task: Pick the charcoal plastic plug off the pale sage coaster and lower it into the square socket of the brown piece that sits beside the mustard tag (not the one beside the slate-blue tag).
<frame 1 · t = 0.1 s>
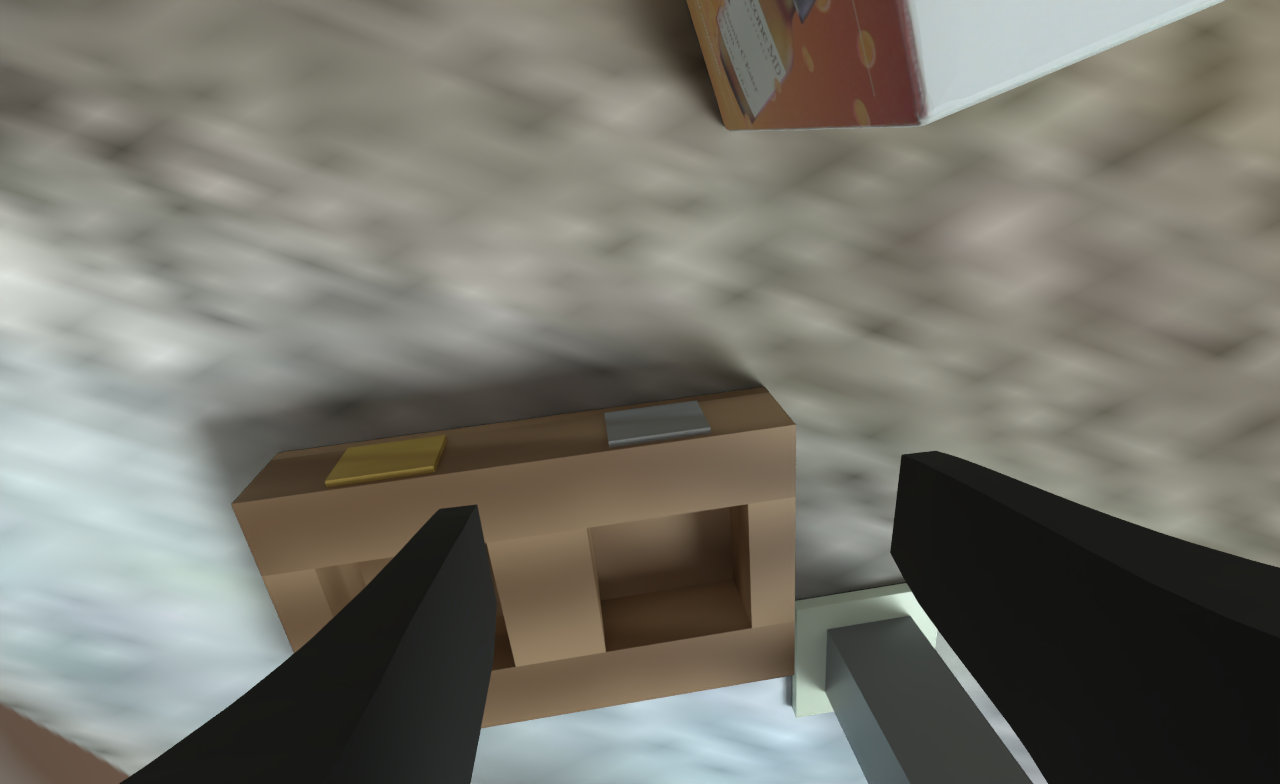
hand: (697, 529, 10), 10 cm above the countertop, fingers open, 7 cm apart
coaster: (861, 645, 26), on the countertop
plug: (866, 654, 25), resting on coaster
brown piece: (551, 543, 22), on the countertop
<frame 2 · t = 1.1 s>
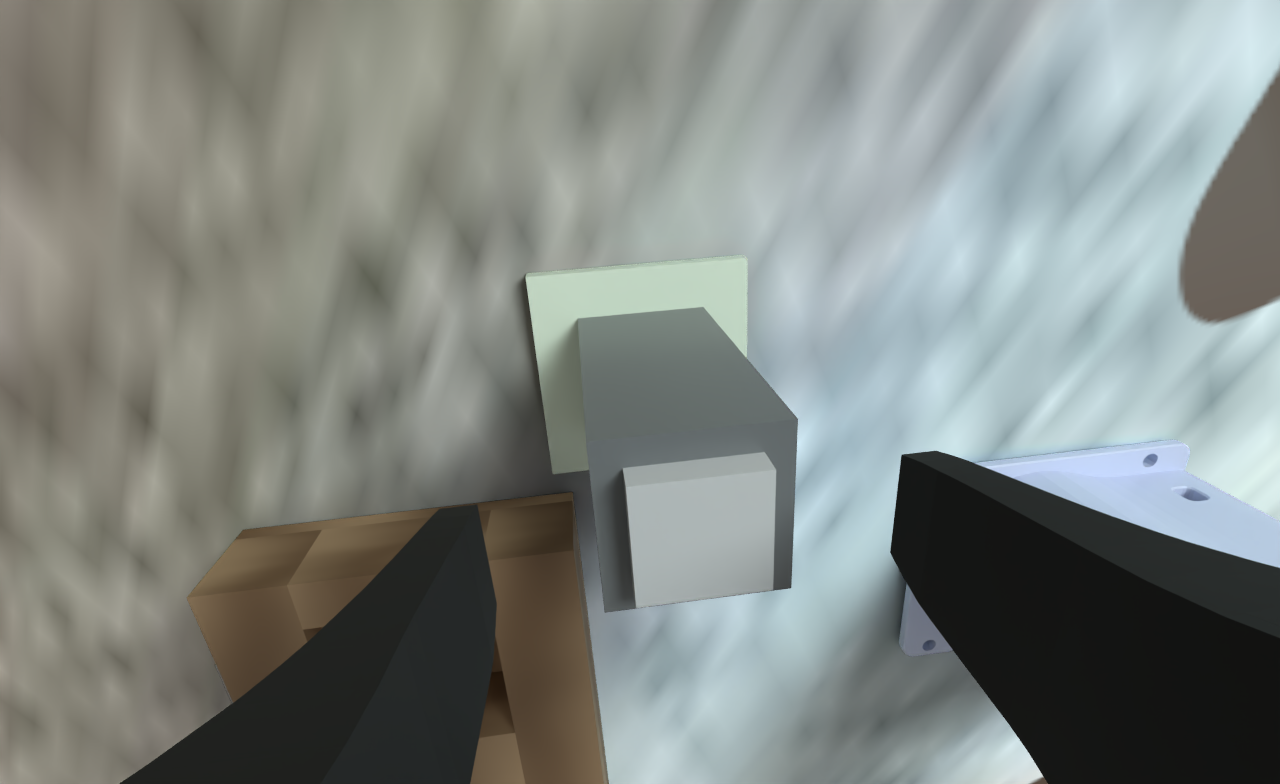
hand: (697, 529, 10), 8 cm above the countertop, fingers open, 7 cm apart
coaster: (642, 365, 18), on the countertop
plug: (644, 371, 17), resting on coaster
brown piece: (457, 698, 22), on the countertop
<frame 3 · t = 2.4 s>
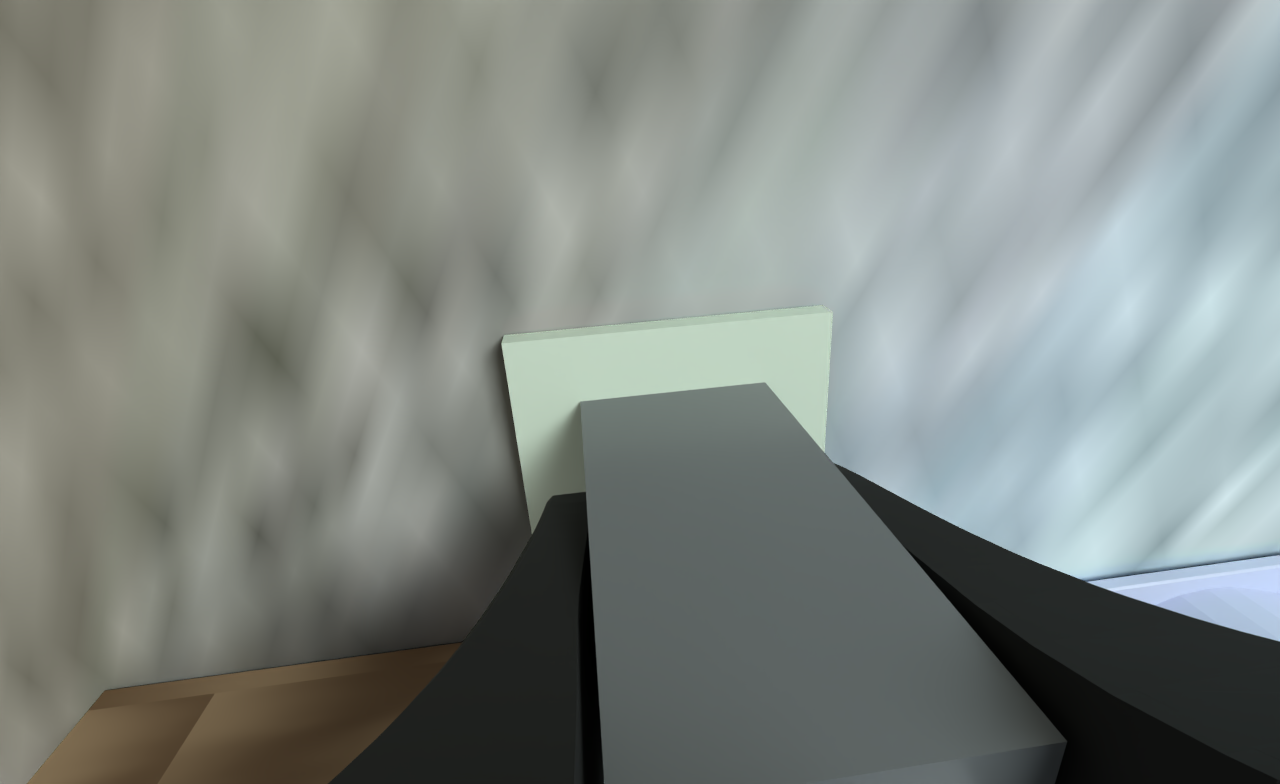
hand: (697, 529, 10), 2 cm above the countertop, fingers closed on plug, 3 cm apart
coaster: (673, 460, 12), on the countertop
plug: (677, 473, 12), resting on coaster, touching gripper
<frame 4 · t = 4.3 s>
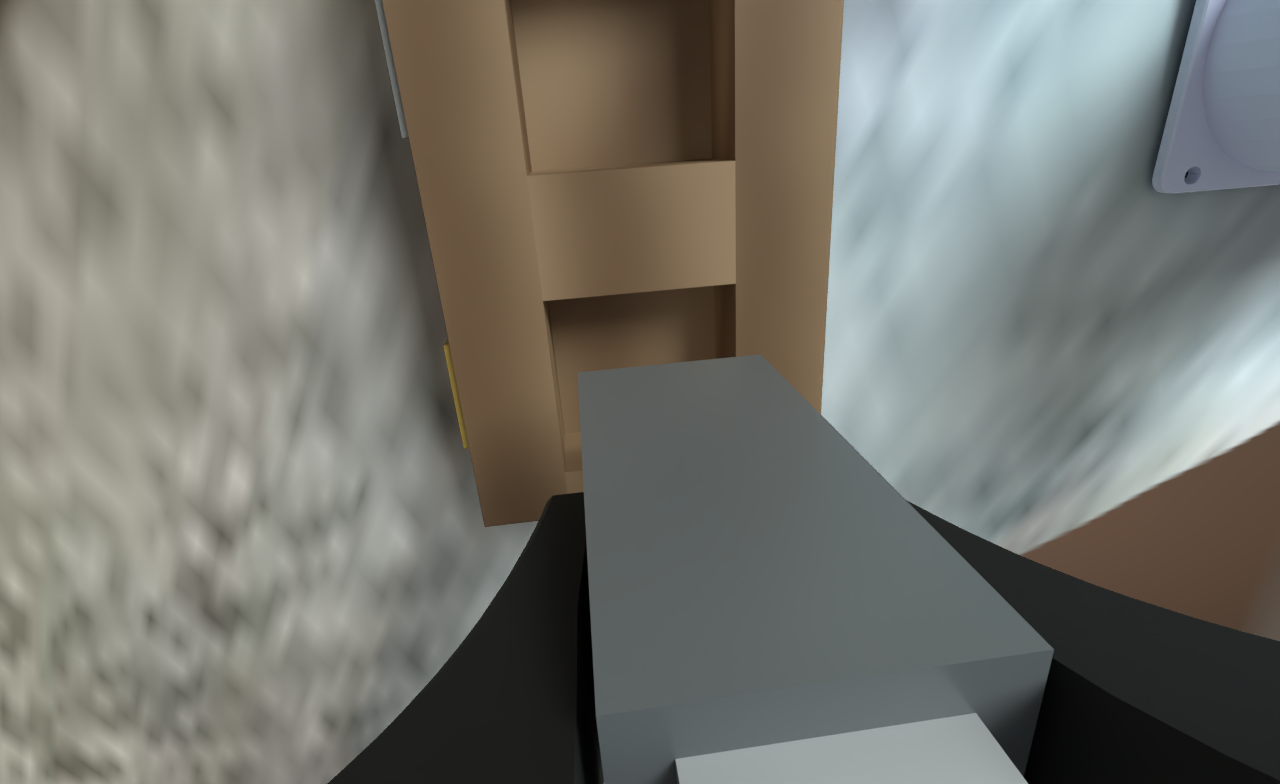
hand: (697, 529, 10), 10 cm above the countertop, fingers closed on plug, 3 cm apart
plug: (674, 446, 12), point 8 cm above the countertop, touching gripper
brown piece: (625, 218, 18), on the countertop
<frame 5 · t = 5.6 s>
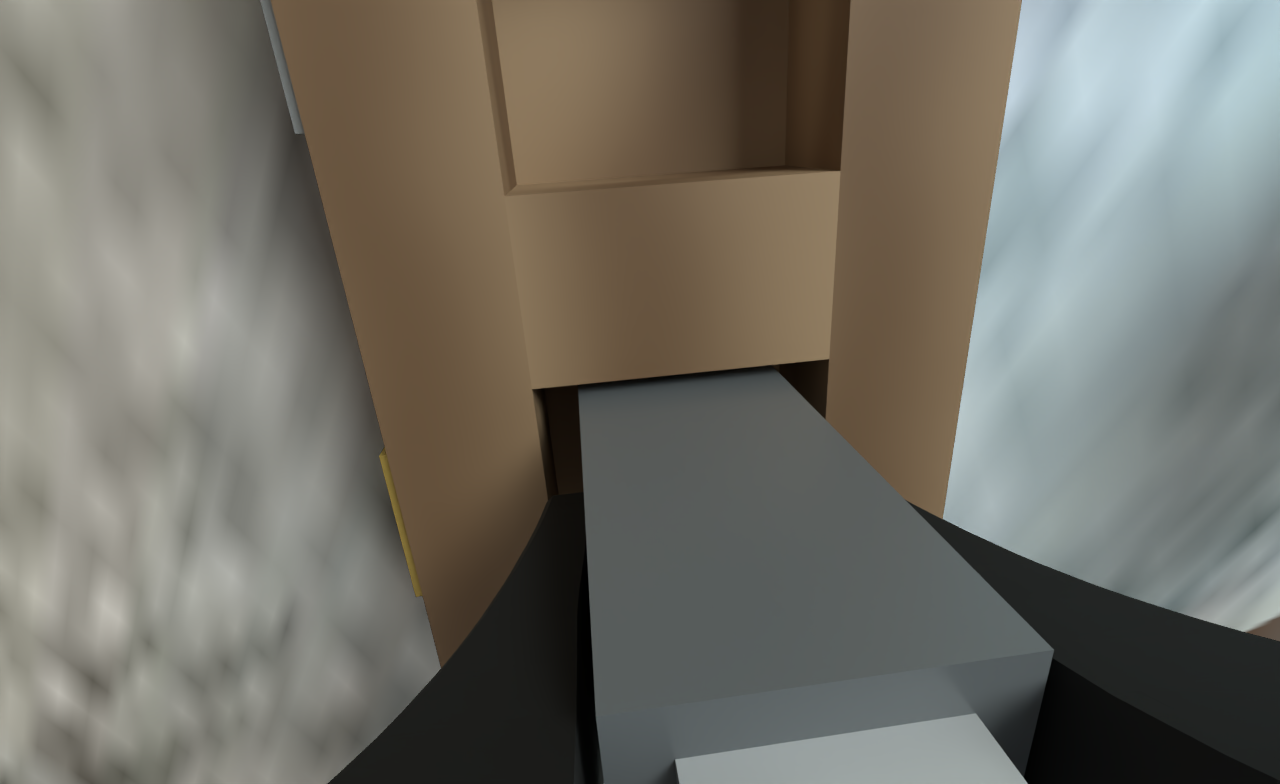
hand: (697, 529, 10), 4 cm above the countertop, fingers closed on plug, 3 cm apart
plug: (674, 446, 12), point 2 cm above the countertop, touching gripper
brown piece: (654, 252, 12), on the countertop
when the fingers open (3 cm above the countertop, at t = 6.5 s): plug stays where it is, resting on brown piece.
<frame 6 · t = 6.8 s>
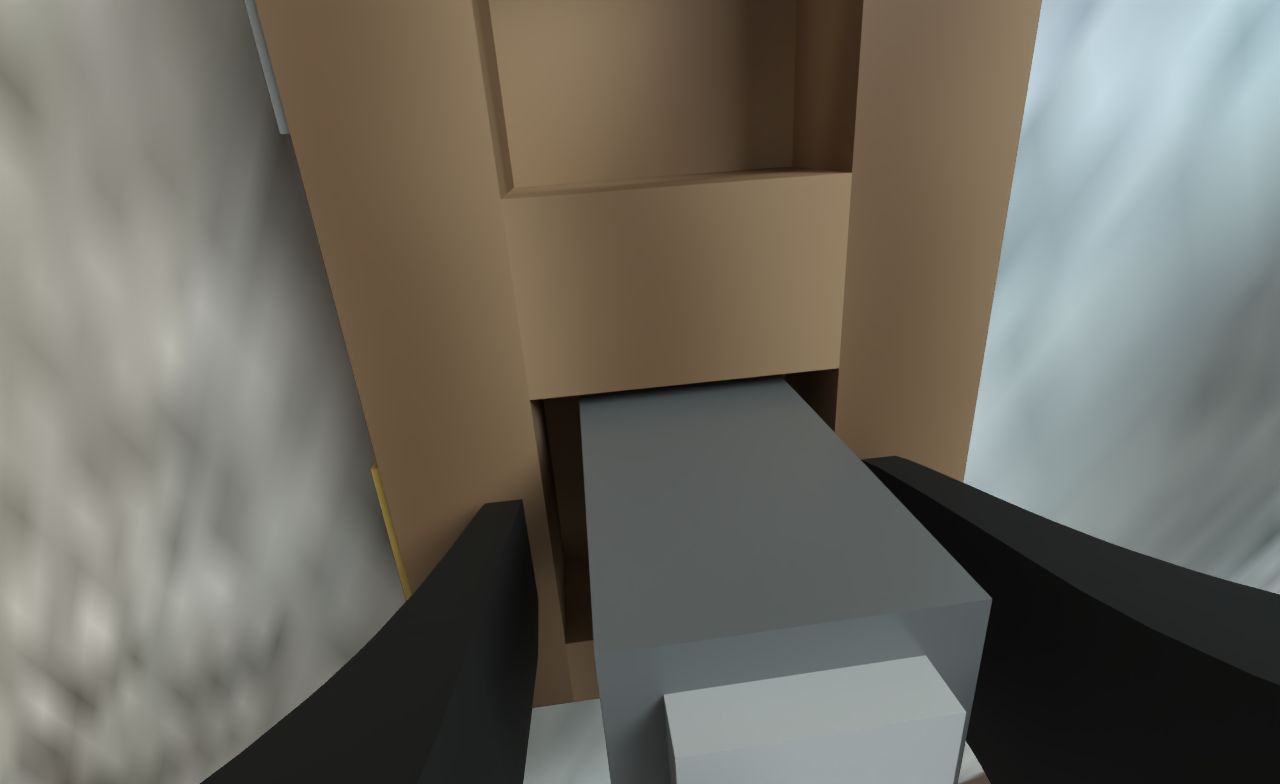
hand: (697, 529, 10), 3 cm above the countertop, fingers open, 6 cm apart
plug: (669, 431, 13), point 1 cm above the countertop, touching brown piece
brown piece: (656, 256, 12), on the countertop
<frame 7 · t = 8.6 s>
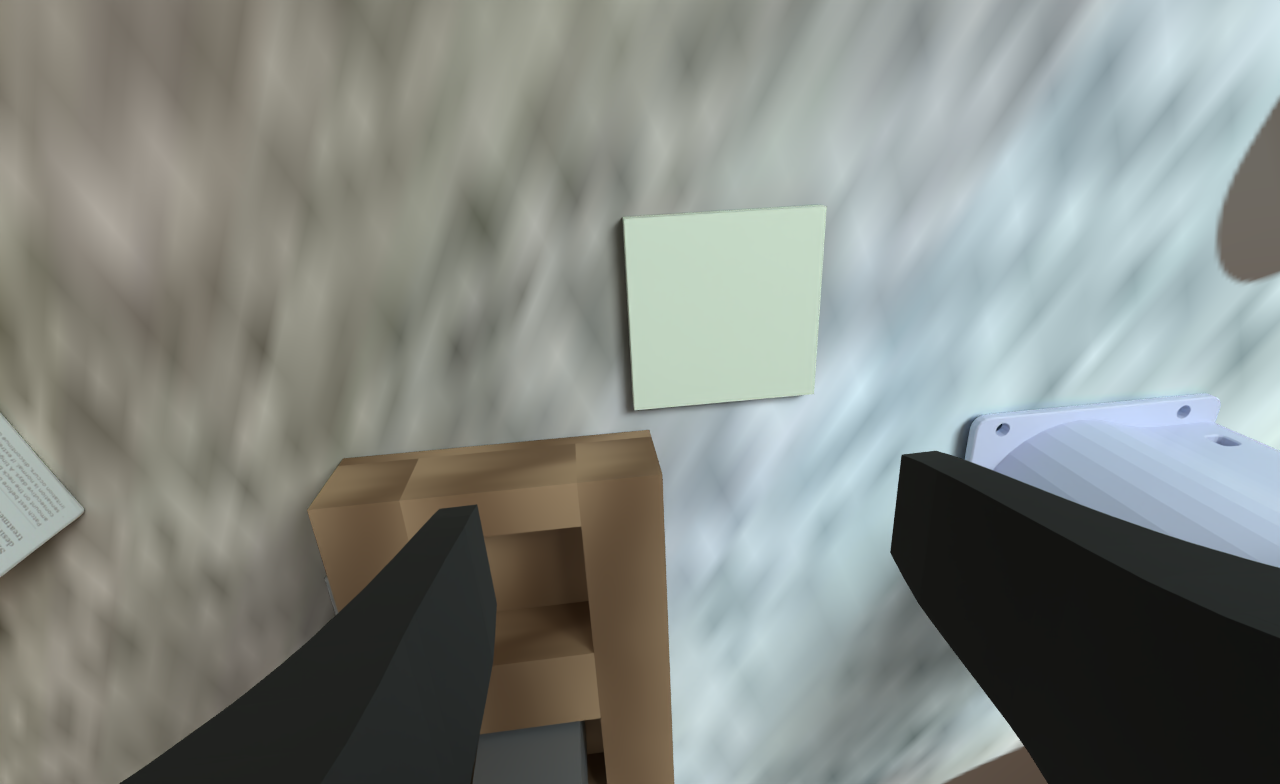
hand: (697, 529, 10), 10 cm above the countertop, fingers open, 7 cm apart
coaster: (722, 309, 19), on the countertop
plug: (538, 709, 24), resting on brown piece
brown piece: (528, 630, 23), on the countertop
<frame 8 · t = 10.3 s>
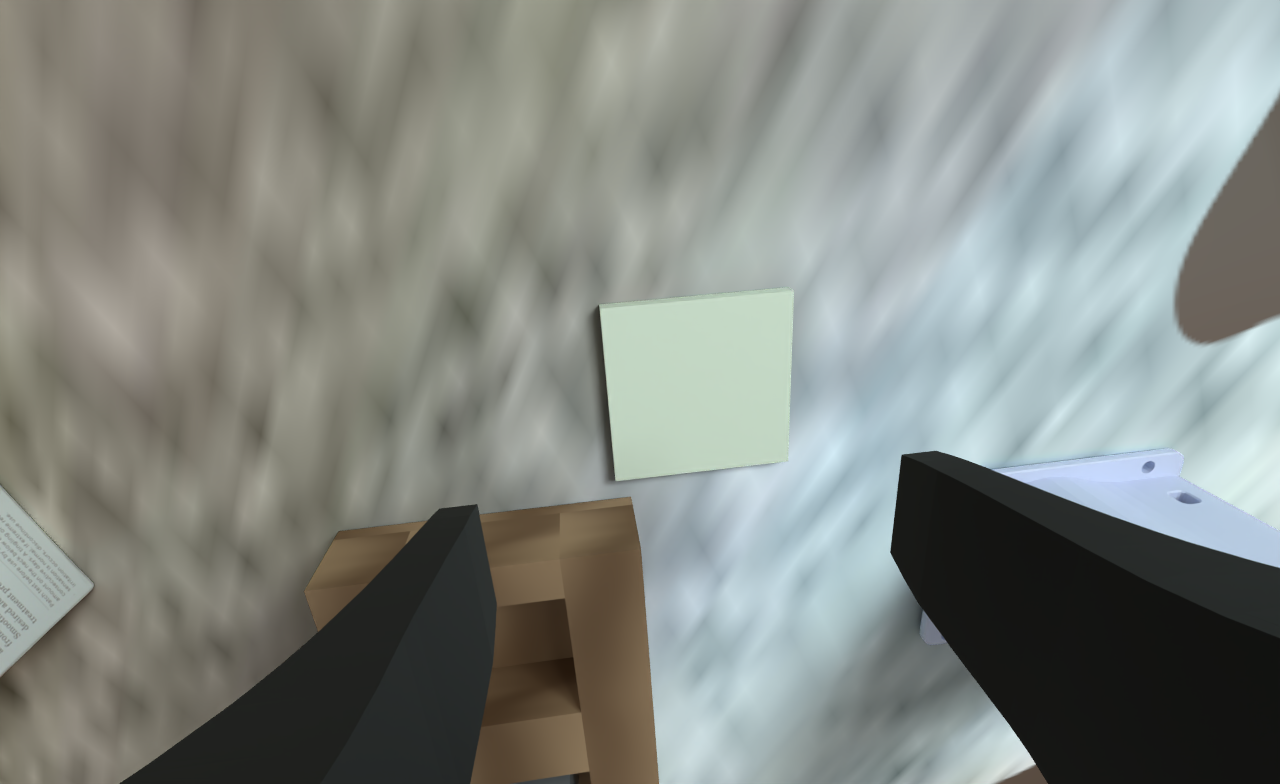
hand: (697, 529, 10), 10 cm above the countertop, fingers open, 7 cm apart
coaster: (697, 384, 20), on the countertop
plug: (531, 757, 25), resting on brown piece
brown piece: (520, 683, 24), on the countertop
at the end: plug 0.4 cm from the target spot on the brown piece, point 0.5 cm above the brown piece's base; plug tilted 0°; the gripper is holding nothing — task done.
